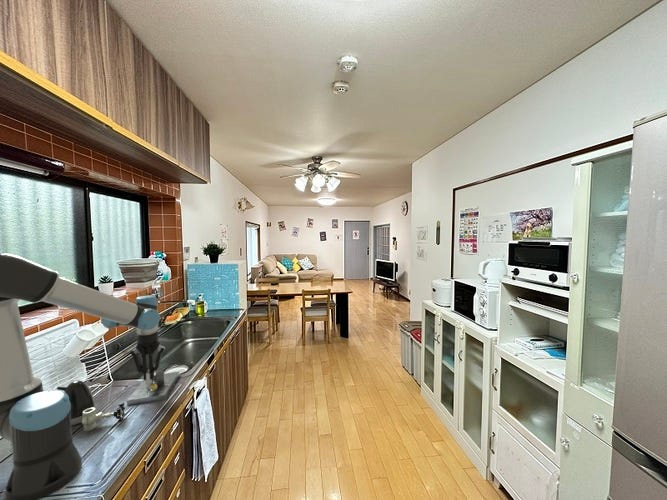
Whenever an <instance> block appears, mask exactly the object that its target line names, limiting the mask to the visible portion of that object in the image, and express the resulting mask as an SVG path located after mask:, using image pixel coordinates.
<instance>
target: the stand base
mask: <svg viewBox="0 0 667 500" xmlns="http://www.w3.org/2000/svg"><path fill="white" fill-rule="evenodd" d="M148 371H149V369H148ZM179 377H180V371H174V372H166V373H165V372H164V383H163V384H162V385H160V386H158V387H157V389H156V390H155V391H151V390H150V388H146V380H144V379H143V380H142V381H141V383H140V384H139V385H138V386H137V388H135V390H134V391H133V392H132V393H131V395H130V396H129V398H127V400H126V406H131V405H137V404H145V403H150V402H157V401H164V400H166V399H167V398H168V395H169V393H170V392H171V390H172V389H173V388H174V385H175V383H176V382H177V380H178V378H179Z"/></svg>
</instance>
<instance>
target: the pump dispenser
mask: <svg viewBox="0 0 667 500" xmlns="http://www.w3.org/2000/svg"><path fill="white" fill-rule="evenodd" d="M56 390H58V391H63V392H65V393H66V394H67V395H68V396H69V401H70V403H71V409H70V411H71V426H75V425H79V424H82V419H83V413H82V412H83V411H85V410H86V409H89V408H95V407H96V404H95V403H96V402H95V399H94V394H92V393H93V392H92V391H91V389H90V387H89V386H88V385H87V384H86V382H84V381H83V380H74V381H71V382H70V383H69V384H68V385H66V386H57V387H56Z"/></svg>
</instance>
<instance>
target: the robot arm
mask: <svg viewBox="0 0 667 500" xmlns="http://www.w3.org/2000/svg"><path fill="white" fill-rule="evenodd" d="M20 300H21V301H25V302H29V303H33V304H36V303H37V304H38V303H39V302H43V303H47V304H50V305H55V306H56V307H57V306H58V307H61V308H65V309H69V310H72V311H75V312H79V313H82V314H87V315H90V316H93V317H97V318H100V319H101V324H102V325H103V326H104V328H106V329H113V328H119V327H126V328H134V329H136V334H137V335H136V342H137V343H136V347H135V348H133V349H132V350H130V351H129V354H130V355H131V356H132V358H133V360H134V361H133V362H134V364H135V365H136V367H135V368H136V369H137V372H138V373H142V374H143V380H146V388H150V386H151V385H152V379H153V378H154V371H156V370H159V368H160V365H161V360H162V358H163V357H162V355H163V352H164V350H165V349H166V346H165V345H161V344H160V342H159V332H158V330H159V327H158V326H159V323H160V320H161V314H160V312H159V311H158V306H159V305H158V300H157V297H156V296H155V295H142V296H141V295H140V296H138V297H136V299H135V301H134V302H130V301H127V300H125V299H122V298H120V297H117V296H114V295H110V294H108V293H105V292H102V291H101V290H97V289H94V288H91V287H89V286H86V285H82V284H80V283H77V282H75V281H72V280H70V279H66V278H64V277H60V275H59V272H58V271H55V270H54V269H53V270H52V269H50V268H47V267H46V266H43V265H41V264H38V263H35V262H33V261H30V260H28V259H26V258H23V257H21V256H19V255H15V254H11V253H0V437H1V438H3V439H5V440H6V441H9V442H10V443H11V449H12V461H13V467H12V468H11V469H12V470H11V472H10V475H9V479H8V480H7V483H6V487H5V489H4V490H5V491H4V492H5V493H4V494H5V500H40V499H42V498H44V497H47V496H48V495H49V496H50V495H51V494H52V493H54V492H56V491H58V490H59V489H61V488H63V487H64V486H66V485H67V484H69V483H70V482H71V481H72V480H73V479H75V477H76V476H77V475H78V474H79V473H80V472H81V469H82V466H83V460H82V455H81V454H80V453H79V451H78V450H77V447H76V445H75V444H74V442H73V432H72V431H73V430H72V425H71V411H70V409H71V403H70V401H69V396H68V395H67V394H66V393H65V392H64V391H62V390H57V389H56V390H55V389H54V390H45V391H44V386H43V382H42V379H41V378H38V377H35V376H34V375H33V370H32V365H31V360H30V357H29V351H28V350H29V349H28V346H27V341H26V337H25V332H24V327H23V321H22V318H21V314H20V309H19V305H18V302H19V301H20ZM156 351H158V353H157V356H156V360H155V352H156ZM139 353H140V354H141V357H140V354H139ZM141 358H142V360H141ZM148 370H149V371H148Z"/></svg>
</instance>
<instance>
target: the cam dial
mask: <svg viewBox="0 0 667 500" xmlns="http://www.w3.org/2000/svg"><path fill="white" fill-rule="evenodd" d="M164 374H165V371H164V370H163V369H157V370H156V371H154V378H153V379H152V385H151V386H150V390H151V391H155V390H156V389H157V387H158V386H160V385H162V384H163V383H164Z"/></svg>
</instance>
